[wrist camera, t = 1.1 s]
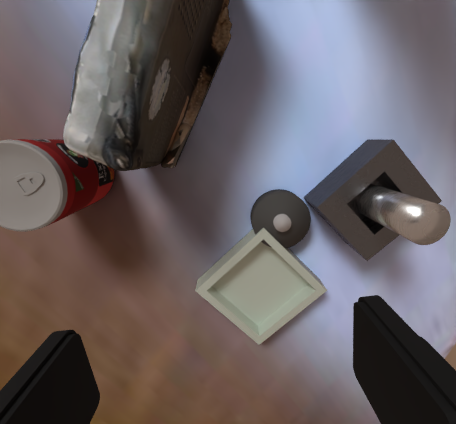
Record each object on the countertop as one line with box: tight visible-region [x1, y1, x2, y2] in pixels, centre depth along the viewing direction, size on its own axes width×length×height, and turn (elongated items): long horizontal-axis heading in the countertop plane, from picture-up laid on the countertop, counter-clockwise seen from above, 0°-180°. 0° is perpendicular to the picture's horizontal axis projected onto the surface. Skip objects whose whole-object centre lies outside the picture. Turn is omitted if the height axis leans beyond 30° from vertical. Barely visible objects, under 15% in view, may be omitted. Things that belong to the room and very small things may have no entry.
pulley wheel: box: [251, 189, 311, 248], centre depth 32 cm, size 7×7×3 cm
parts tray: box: [195, 228, 327, 345], centre depth 35 cm, size 12×12×3 cm
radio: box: [63, 0, 232, 171], centre depth 22 cm, size 23×9×15 cm, turn 151°
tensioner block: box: [304, 140, 441, 261], centre depth 31 cm, size 10×9×5 cm
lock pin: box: [348, 184, 451, 245], centre depth 27 cm, size 4×4×11 cm
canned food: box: [0, 139, 114, 231], centre depth 27 cm, size 8×8×11 cm
